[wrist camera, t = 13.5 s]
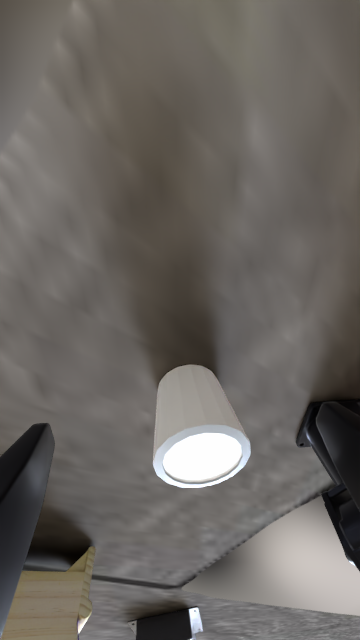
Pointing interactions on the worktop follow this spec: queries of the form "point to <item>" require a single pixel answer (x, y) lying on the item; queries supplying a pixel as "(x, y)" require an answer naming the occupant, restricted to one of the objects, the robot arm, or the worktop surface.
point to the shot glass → (196, 430)
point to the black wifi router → (169, 626)
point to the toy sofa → (51, 603)
